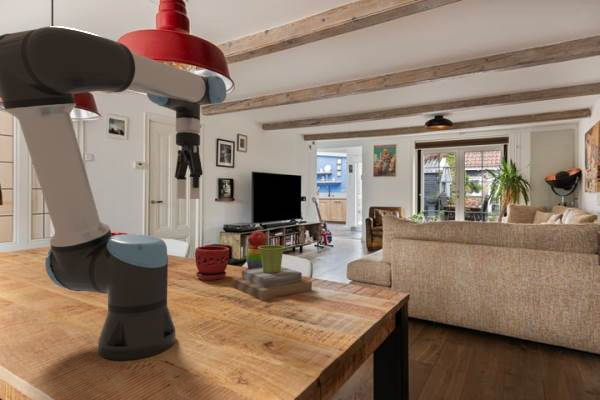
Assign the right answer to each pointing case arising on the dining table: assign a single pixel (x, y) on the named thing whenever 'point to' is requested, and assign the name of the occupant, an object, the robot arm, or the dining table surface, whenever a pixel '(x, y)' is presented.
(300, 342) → the dining table surface
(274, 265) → the plant pot
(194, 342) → the dining table surface
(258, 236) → the stacking bear
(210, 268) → the plant pot
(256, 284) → the stepped square platform
